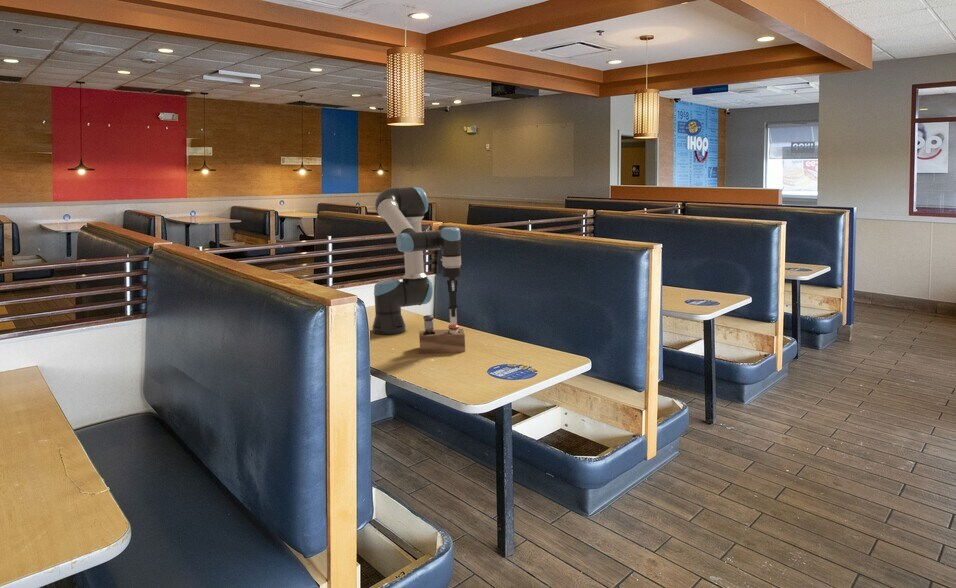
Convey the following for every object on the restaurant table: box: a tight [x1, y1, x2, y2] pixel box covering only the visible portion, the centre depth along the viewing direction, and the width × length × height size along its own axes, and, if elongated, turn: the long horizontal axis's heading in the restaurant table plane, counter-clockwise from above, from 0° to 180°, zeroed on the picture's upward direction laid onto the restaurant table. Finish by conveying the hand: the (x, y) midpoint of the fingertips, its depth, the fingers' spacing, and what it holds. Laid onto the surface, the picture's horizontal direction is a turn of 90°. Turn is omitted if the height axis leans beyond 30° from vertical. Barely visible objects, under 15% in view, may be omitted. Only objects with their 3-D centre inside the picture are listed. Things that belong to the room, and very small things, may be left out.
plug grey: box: [423, 314, 435, 335], centre depth 263 cm, size 4×4×8 cm
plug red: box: [448, 324, 460, 334], centre depth 265 cm, size 4×4×8 cm
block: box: [418, 328, 466, 355], centre depth 265 cm, size 10×18×7 cm, turn 95°
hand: (453, 323), depth 264 cm, fingers closed
